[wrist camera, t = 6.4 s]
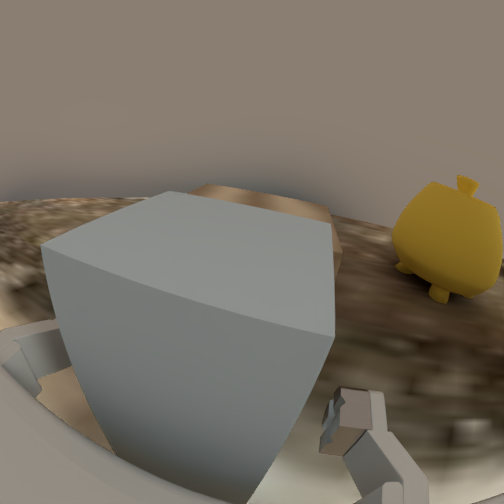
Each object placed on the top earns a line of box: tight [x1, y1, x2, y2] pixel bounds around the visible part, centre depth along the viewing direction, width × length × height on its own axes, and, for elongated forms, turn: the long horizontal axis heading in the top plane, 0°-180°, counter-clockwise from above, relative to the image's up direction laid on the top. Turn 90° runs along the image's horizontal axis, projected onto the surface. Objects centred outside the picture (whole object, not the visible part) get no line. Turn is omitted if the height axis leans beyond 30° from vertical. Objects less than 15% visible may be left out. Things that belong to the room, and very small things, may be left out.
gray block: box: [40, 191, 335, 504], centre depth 8 cm, size 5×5×10 cm
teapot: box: [392, 175, 503, 304], centre depth 28 cm, size 20×16×14 cm
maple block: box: [187, 184, 343, 283], centre depth 26 cm, size 14×14×6 cm
